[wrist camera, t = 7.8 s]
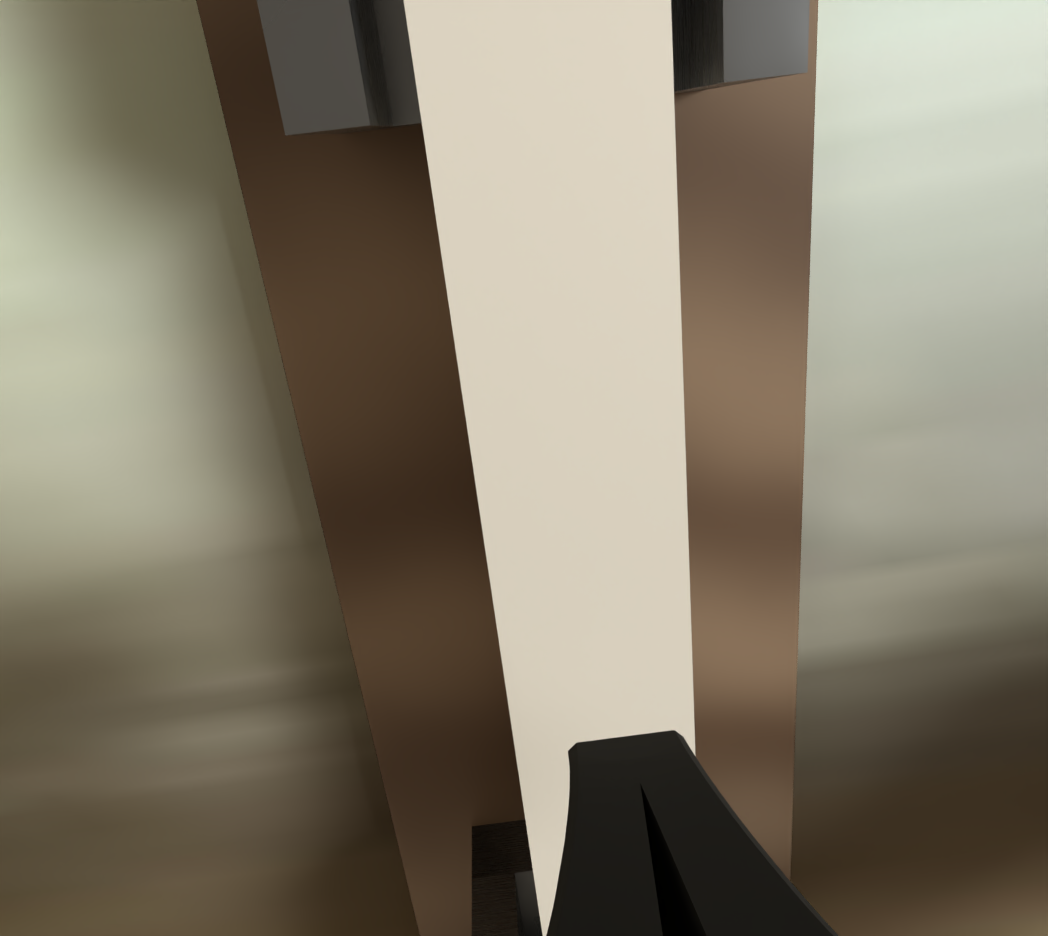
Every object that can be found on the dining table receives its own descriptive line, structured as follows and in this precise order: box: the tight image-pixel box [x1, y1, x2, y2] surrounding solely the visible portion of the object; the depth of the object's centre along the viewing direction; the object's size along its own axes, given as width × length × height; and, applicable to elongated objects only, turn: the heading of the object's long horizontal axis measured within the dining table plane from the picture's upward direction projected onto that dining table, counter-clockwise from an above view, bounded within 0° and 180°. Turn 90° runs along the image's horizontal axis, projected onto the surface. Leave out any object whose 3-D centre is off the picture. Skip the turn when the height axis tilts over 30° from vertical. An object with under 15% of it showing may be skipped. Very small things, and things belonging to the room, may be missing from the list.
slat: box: [404, 0, 695, 936], centre depth 14 cm, size 24×3×3 cm, turn 6°
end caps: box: [257, 0, 810, 936], centre depth 15 cm, size 28×6×4 cm, turn 6°
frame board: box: [196, 0, 818, 936], centre depth 17 cm, size 29×10×1 cm, turn 6°
